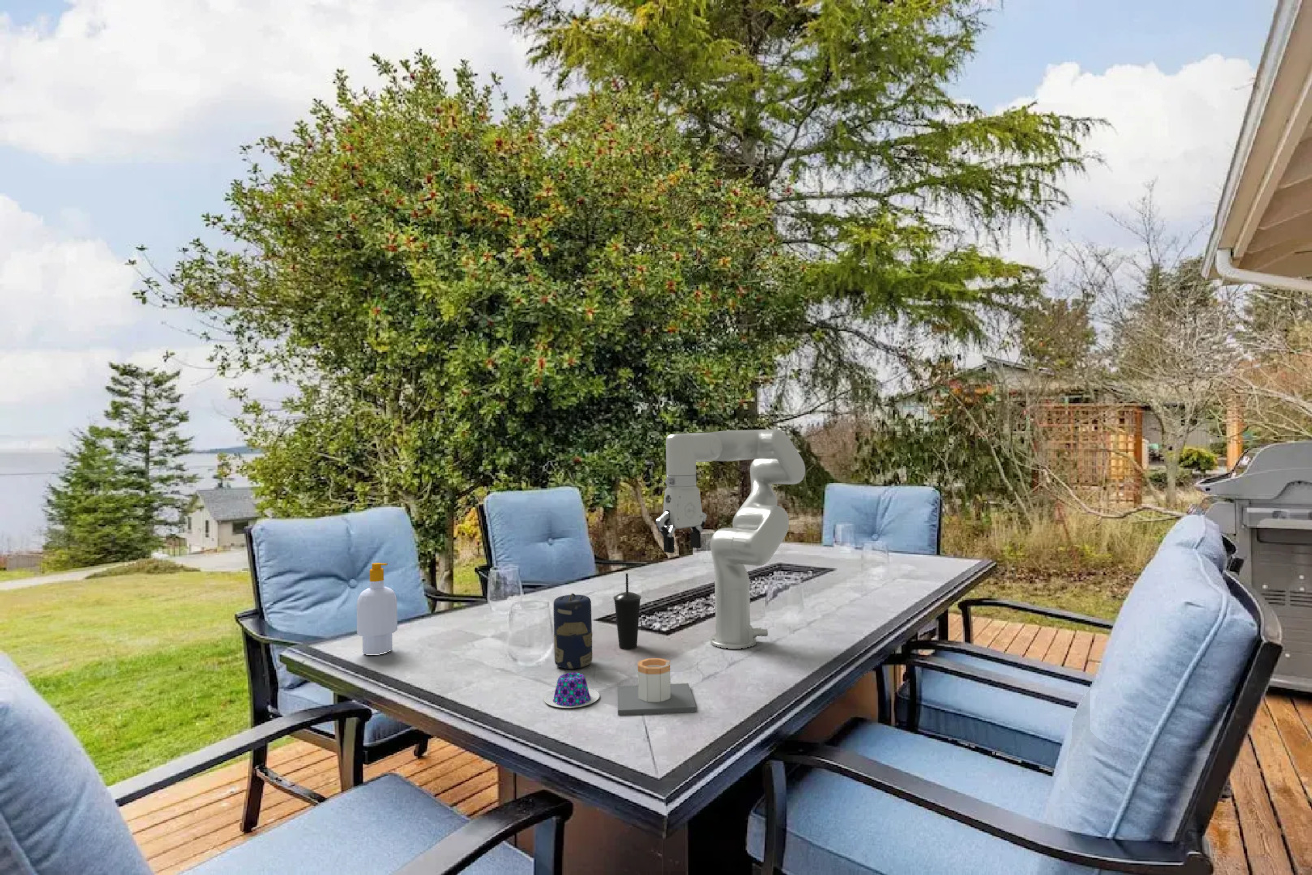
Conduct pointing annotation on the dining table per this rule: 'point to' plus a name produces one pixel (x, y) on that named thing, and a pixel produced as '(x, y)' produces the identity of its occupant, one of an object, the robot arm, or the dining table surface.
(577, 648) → the canister
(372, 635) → the soap bottle
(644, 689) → the vent collar
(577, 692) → the pudding
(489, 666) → the dining table surface
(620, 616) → the drinking cup
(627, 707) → the base
